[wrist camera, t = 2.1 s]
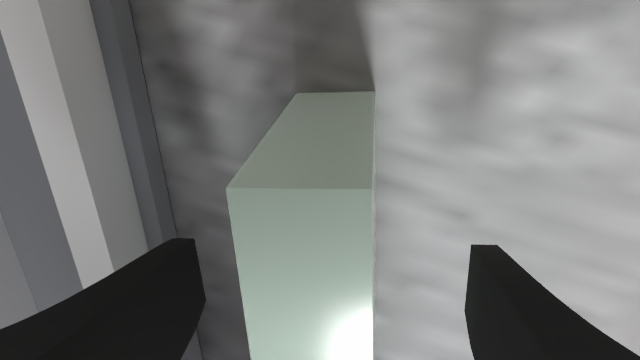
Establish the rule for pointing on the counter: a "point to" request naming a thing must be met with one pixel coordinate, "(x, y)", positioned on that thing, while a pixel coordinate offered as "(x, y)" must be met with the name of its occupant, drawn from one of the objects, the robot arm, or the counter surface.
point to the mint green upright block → (309, 231)
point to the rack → (74, 153)
